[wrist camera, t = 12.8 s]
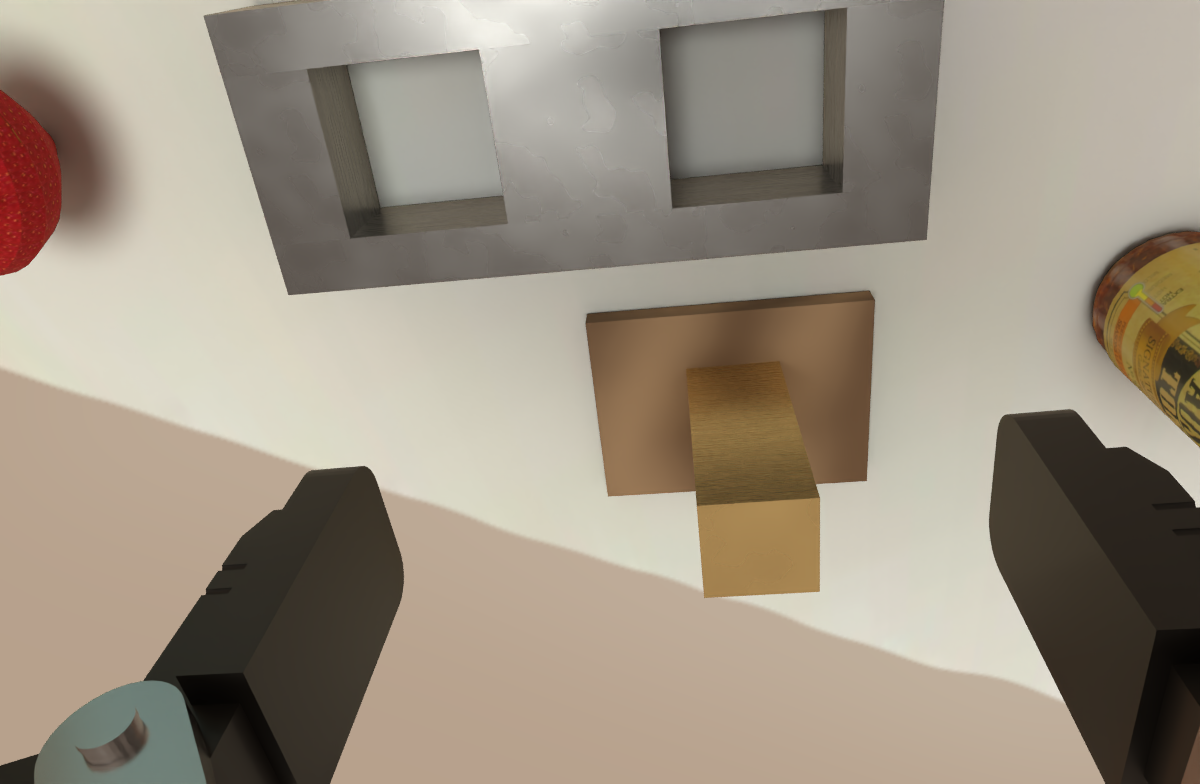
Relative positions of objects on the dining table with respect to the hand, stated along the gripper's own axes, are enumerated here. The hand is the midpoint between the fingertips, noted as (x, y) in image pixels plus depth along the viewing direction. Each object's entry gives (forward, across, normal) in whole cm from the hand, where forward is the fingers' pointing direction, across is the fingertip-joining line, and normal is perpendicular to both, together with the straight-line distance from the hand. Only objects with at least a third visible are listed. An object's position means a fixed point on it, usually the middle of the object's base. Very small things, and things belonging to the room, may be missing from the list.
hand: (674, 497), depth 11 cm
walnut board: (+25, -1, +13) cm, 28 cm away
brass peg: (+24, -2, +13) cm, 27 cm away
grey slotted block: (+25, +3, 0) cm, 25 cm away
